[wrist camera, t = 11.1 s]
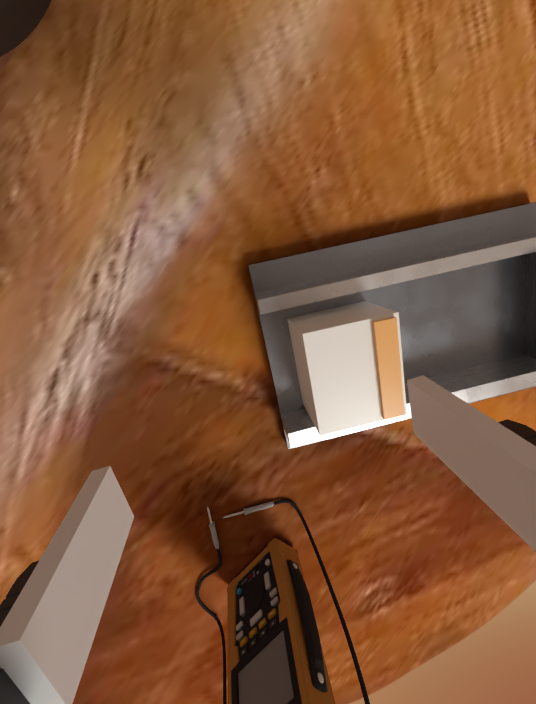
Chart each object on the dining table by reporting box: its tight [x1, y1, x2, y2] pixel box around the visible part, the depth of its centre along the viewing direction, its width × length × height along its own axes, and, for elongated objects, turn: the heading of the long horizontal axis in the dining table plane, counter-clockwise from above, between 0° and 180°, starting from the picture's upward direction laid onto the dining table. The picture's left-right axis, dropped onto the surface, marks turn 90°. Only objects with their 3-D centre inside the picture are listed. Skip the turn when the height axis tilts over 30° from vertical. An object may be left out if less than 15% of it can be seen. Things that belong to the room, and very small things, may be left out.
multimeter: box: [196, 499, 370, 704], centre depth 22 cm, size 15×10×20 cm
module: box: [288, 301, 407, 436], centre depth 24 cm, size 7×6×5 cm
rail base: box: [248, 202, 536, 449], centre depth 25 cm, size 15×22×4 cm
